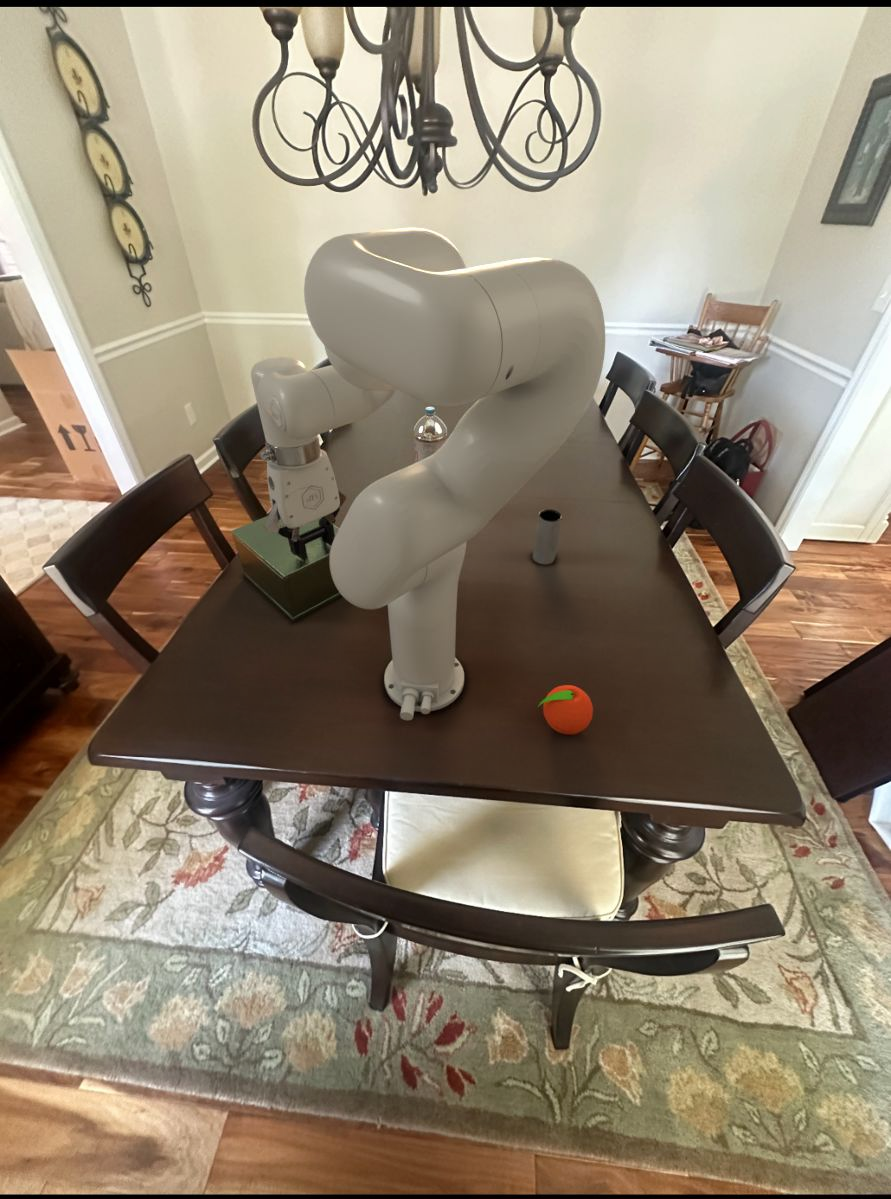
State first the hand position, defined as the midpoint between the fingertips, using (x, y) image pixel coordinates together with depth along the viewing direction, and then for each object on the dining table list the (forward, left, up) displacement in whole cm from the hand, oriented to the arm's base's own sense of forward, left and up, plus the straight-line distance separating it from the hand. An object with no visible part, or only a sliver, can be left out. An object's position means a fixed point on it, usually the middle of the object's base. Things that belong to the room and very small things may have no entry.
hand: (314, 548), depth 88 cm
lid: (+5, +5, -2) cm, 7 cm away
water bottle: (+31, -16, -12) cm, 37 cm away
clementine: (-23, -42, -12) cm, 50 cm away
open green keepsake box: (+5, +6, -12) cm, 14 cm away
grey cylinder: (+18, -41, -12) cm, 47 cm away
